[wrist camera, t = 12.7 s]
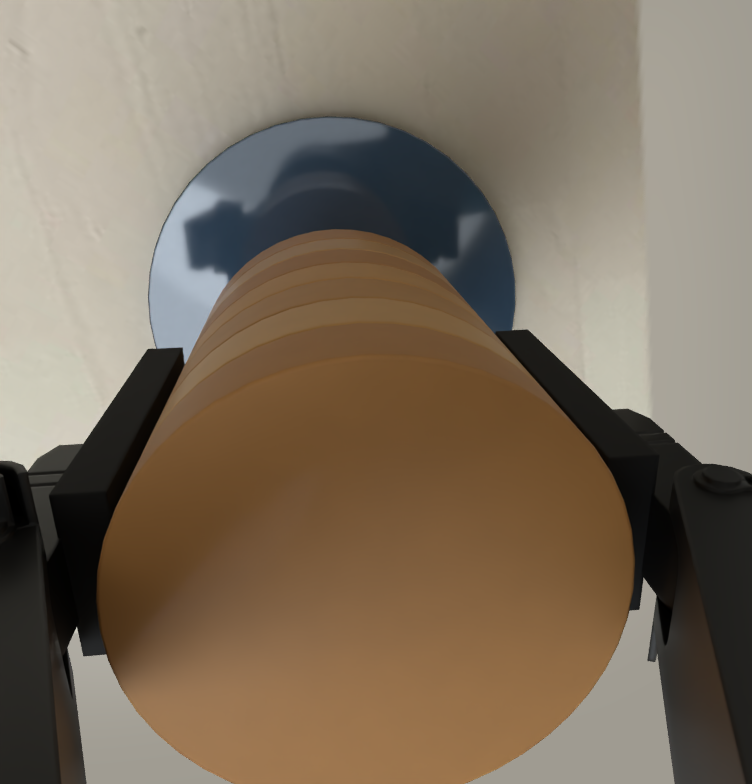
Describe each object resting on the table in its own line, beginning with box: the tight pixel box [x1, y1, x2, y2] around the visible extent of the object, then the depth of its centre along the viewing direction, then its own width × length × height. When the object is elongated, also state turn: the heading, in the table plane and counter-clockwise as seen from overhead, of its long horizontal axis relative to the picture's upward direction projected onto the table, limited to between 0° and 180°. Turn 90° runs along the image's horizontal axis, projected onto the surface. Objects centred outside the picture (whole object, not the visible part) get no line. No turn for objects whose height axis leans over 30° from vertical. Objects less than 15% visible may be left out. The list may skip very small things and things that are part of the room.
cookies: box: [96, 229, 635, 784], centre depth 14 cm, size 7×7×10 cm
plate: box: [148, 116, 515, 364], centre depth 24 cm, size 12×12×1 cm
